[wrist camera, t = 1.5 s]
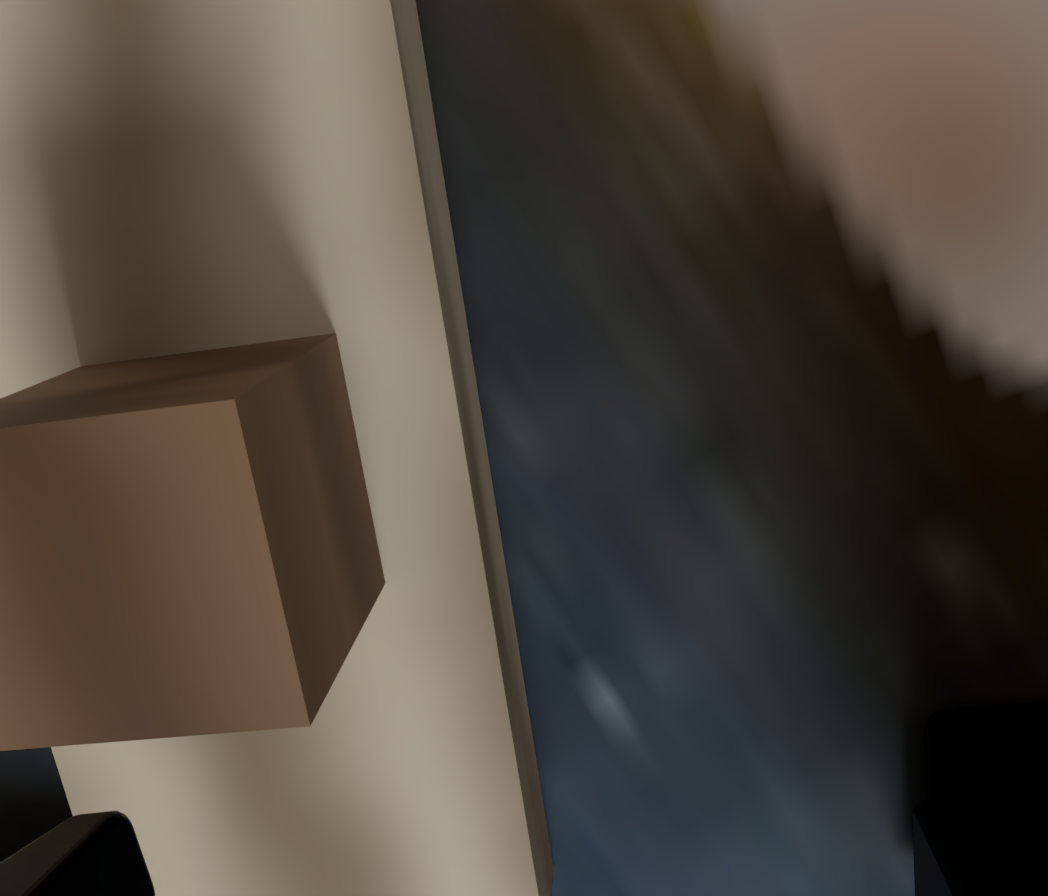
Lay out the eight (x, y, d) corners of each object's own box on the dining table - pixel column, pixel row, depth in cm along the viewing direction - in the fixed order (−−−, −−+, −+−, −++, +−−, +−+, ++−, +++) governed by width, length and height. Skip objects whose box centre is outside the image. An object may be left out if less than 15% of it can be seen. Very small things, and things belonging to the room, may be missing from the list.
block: (335, 333, 18) (235, 399, 13) (385, 583, 19) (310, 726, 14) (80, 366, 18) (-106, 441, 14) (146, 606, 20) (-2, 751, 15)
